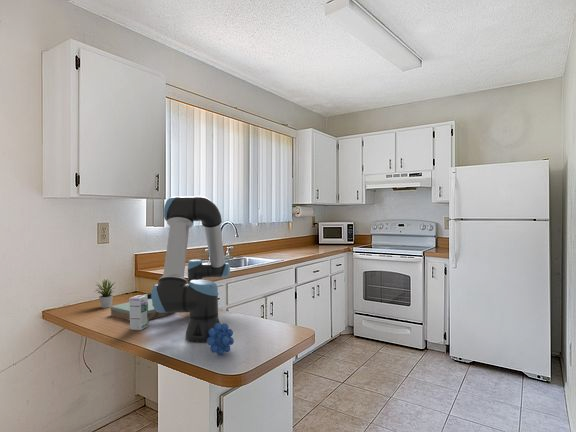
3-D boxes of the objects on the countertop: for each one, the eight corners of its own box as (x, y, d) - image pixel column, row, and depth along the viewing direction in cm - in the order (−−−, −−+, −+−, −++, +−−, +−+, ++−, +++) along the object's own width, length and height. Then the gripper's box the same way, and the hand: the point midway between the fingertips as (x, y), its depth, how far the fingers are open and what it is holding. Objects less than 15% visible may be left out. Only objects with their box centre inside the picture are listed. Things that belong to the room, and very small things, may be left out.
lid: (148, 300, 206) (147, 285, 206) (176, 306, 192) (176, 290, 192) (110, 309, 188) (110, 292, 188) (138, 316, 174) (138, 298, 174)
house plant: (88, 306, 208) (88, 277, 208) (114, 302, 217) (114, 275, 217) (93, 311, 197) (92, 281, 197) (120, 307, 205) (120, 278, 205)
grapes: (215, 363, 124) (214, 328, 124) (203, 358, 129) (202, 324, 129) (241, 353, 133) (240, 320, 133) (229, 349, 137) (228, 317, 137)
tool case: (148, 306, 206) (148, 301, 206) (176, 312, 192) (175, 306, 192) (111, 315, 188) (111, 309, 188) (138, 322, 174) (138, 316, 174)
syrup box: (141, 330, 162) (140, 297, 162) (129, 329, 164) (128, 297, 164) (148, 326, 168) (148, 295, 168) (137, 325, 169) (136, 294, 169)
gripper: (197, 303, 178) (160, 313, 161) (165, 297, 192) (128, 306, 175) (197, 287, 178) (160, 296, 161) (164, 283, 192) (127, 290, 175)
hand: (143, 301), depth 168 cm, fingers open, 13 cm apart
